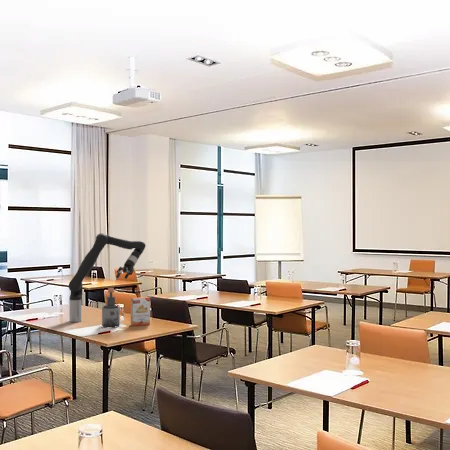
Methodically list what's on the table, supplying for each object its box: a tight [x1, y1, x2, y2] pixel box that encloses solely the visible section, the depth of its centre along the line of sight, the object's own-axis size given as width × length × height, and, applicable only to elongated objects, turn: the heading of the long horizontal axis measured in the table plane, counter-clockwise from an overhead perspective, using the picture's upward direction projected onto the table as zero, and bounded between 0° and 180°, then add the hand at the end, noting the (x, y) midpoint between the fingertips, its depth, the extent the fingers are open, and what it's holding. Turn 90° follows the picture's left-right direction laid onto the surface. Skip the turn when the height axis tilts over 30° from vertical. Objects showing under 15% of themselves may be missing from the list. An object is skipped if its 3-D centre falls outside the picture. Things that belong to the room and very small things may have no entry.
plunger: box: [107, 287, 115, 297], centre depth 402 cm, size 4×4×12 cm
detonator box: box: [101, 295, 121, 328], centre depth 400 cm, size 18×13×22 cm
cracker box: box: [130, 296, 151, 327], centre depth 406 cm, size 14×6×21 cm, turn 117°
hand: (121, 277), depth 412 cm, fingers open, 8 cm apart
